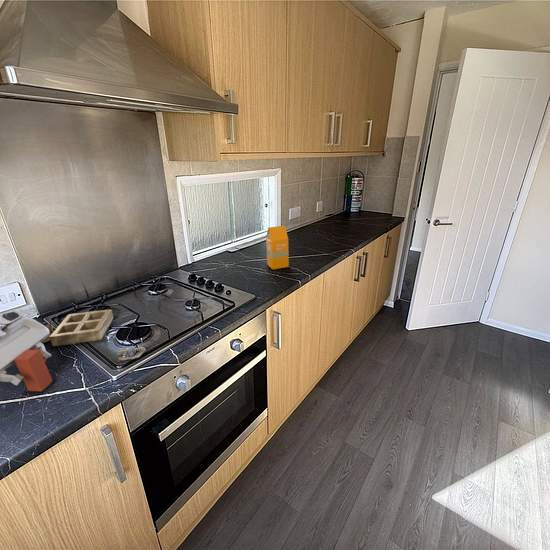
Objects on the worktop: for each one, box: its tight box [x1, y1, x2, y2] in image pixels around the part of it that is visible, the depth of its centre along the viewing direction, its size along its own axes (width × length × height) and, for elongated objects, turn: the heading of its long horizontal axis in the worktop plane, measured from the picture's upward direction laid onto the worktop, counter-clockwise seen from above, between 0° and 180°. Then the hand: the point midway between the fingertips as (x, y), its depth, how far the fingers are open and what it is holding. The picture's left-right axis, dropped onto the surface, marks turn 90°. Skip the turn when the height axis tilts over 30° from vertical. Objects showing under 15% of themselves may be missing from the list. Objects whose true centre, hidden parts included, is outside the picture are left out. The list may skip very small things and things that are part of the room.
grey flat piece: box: [115, 346, 147, 362], centre depth 85 cm, size 7×8×2 cm
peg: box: [14, 350, 53, 392], centre depth 73 cm, size 4×4×10 cm
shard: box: [41, 321, 54, 344], centre depth 95 cm, size 11×8×2 cm
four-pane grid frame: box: [49, 308, 114, 347], centre depth 97 cm, size 14×14×4 cm
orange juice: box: [265, 225, 290, 270], centre depth 144 cm, size 8×9×20 cm
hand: (35, 369), depth 72 cm, fingers open, 7 cm apart
